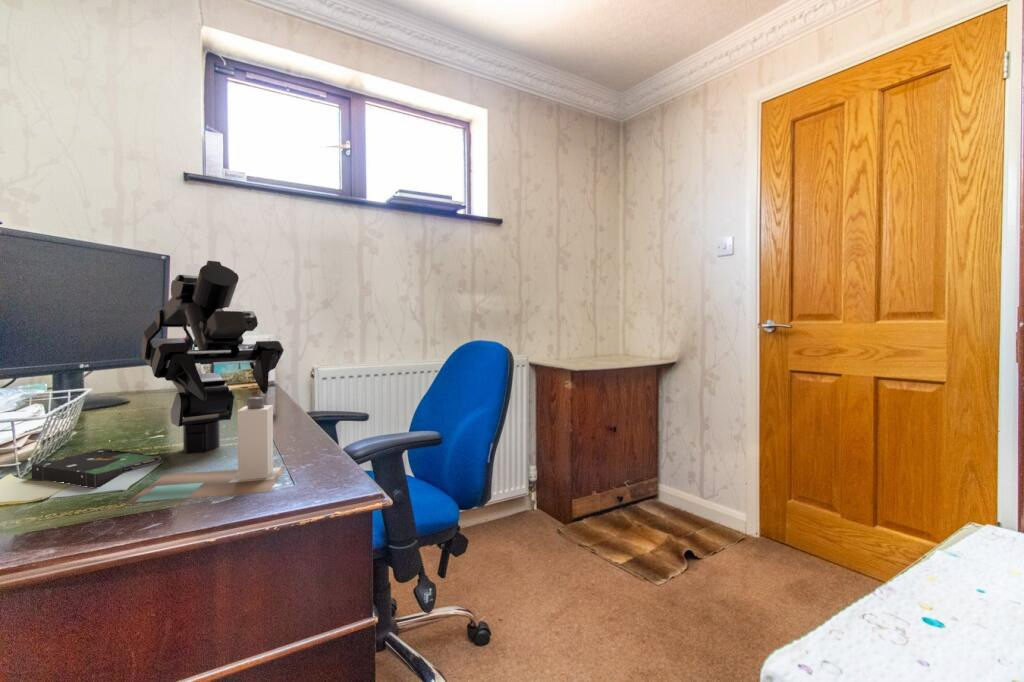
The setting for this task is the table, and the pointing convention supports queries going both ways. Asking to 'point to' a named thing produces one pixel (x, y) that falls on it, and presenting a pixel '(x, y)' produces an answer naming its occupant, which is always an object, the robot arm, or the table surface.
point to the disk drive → (92, 467)
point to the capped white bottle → (255, 439)
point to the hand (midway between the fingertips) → (236, 395)
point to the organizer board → (204, 486)
